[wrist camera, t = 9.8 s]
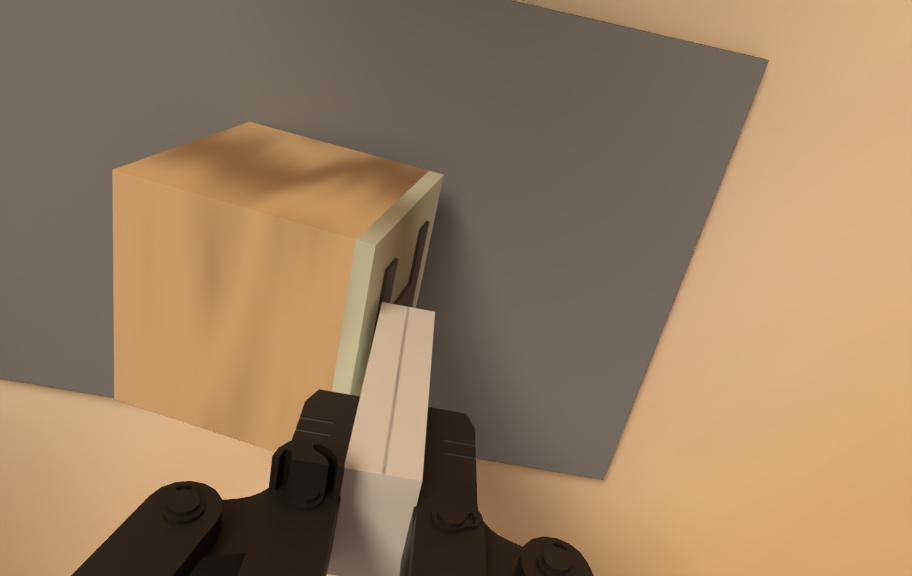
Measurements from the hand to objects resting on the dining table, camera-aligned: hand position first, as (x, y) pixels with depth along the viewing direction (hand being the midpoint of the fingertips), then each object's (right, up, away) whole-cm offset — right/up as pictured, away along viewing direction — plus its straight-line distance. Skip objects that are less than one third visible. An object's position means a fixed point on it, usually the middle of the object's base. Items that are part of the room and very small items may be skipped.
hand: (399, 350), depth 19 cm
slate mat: (-3, +4, +7) cm, 8 cm away
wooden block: (0, +1, +2) cm, 2 cm away
